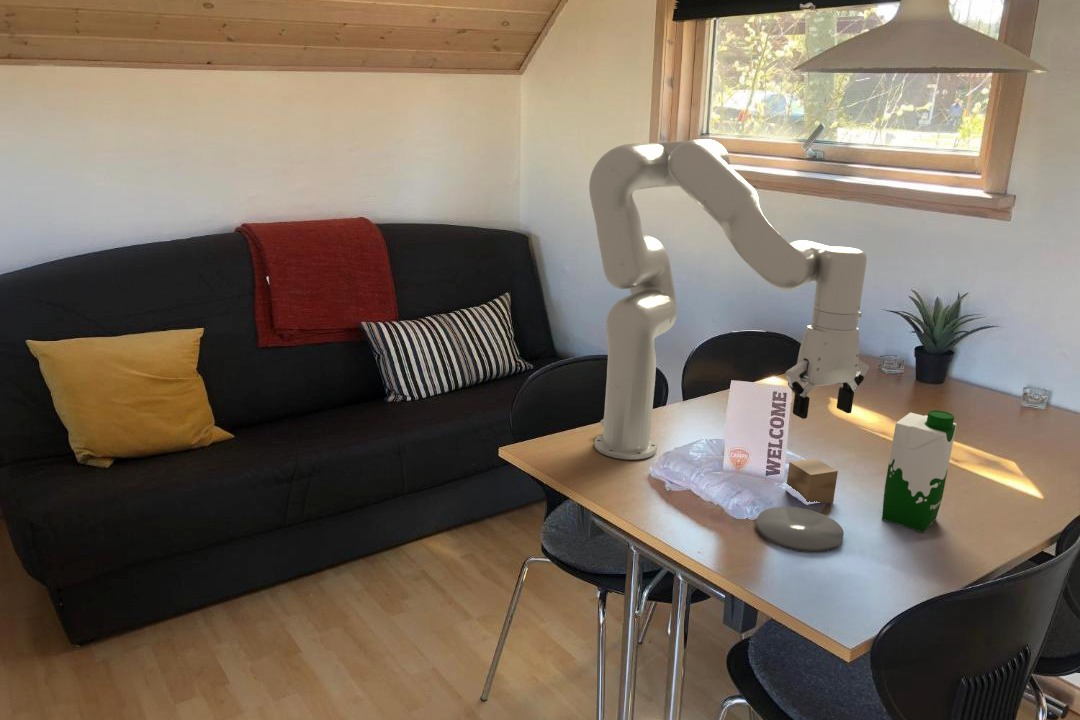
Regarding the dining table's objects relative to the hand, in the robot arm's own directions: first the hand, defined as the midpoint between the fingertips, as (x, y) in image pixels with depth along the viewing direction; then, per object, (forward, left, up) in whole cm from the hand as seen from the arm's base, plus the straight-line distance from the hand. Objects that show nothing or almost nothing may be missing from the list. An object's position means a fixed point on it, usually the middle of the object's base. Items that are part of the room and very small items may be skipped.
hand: (821, 413), depth 158 cm
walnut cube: (0, 0, -16) cm, 16 cm away
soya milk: (+13, +11, -16) cm, 23 cm away
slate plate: (+11, -11, -16) cm, 22 cm away
